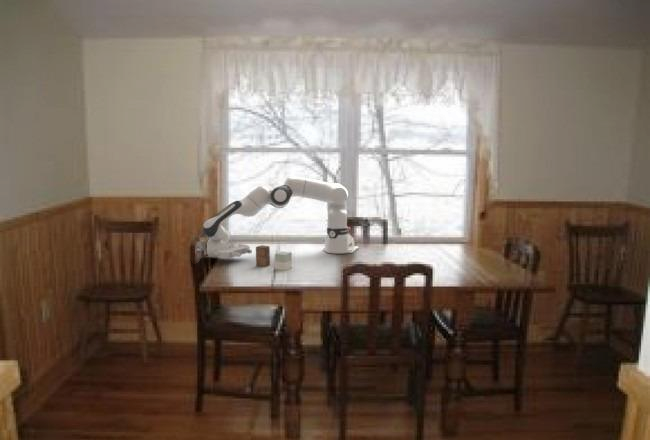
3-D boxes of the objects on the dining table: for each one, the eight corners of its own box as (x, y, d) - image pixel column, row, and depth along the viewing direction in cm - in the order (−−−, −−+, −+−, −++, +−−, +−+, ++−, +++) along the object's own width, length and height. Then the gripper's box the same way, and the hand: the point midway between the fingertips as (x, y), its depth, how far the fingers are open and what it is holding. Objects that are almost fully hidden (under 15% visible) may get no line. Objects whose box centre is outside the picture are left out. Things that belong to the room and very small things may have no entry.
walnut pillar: (262, 264, 286) (261, 245, 284) (269, 265, 283) (269, 246, 282) (256, 265, 282) (255, 246, 280) (264, 267, 279) (263, 247, 278)
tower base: (282, 266, 280) (282, 259, 279) (291, 268, 277) (291, 260, 276) (275, 269, 275) (275, 261, 274) (285, 270, 272) (285, 262, 271)
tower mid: (281, 259, 279) (281, 251, 279) (291, 260, 276) (291, 252, 276) (275, 261, 274) (275, 253, 274) (285, 262, 271) (285, 254, 271)
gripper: (211, 248, 285) (232, 250, 278) (237, 241, 303) (257, 244, 296) (212, 260, 286) (232, 263, 279) (237, 253, 303) (257, 255, 296)
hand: (245, 253), depth 287 cm, fingers open, 8 cm apart
